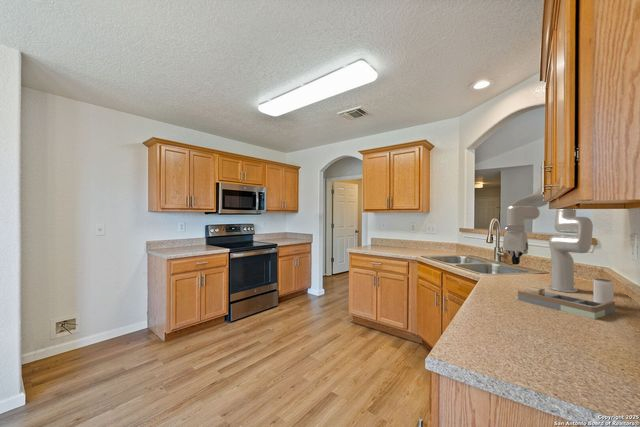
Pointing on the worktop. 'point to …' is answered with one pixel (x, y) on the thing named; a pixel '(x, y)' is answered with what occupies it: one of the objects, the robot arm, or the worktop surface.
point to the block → (535, 290)
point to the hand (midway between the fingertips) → (515, 264)
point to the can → (603, 291)
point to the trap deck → (569, 304)
